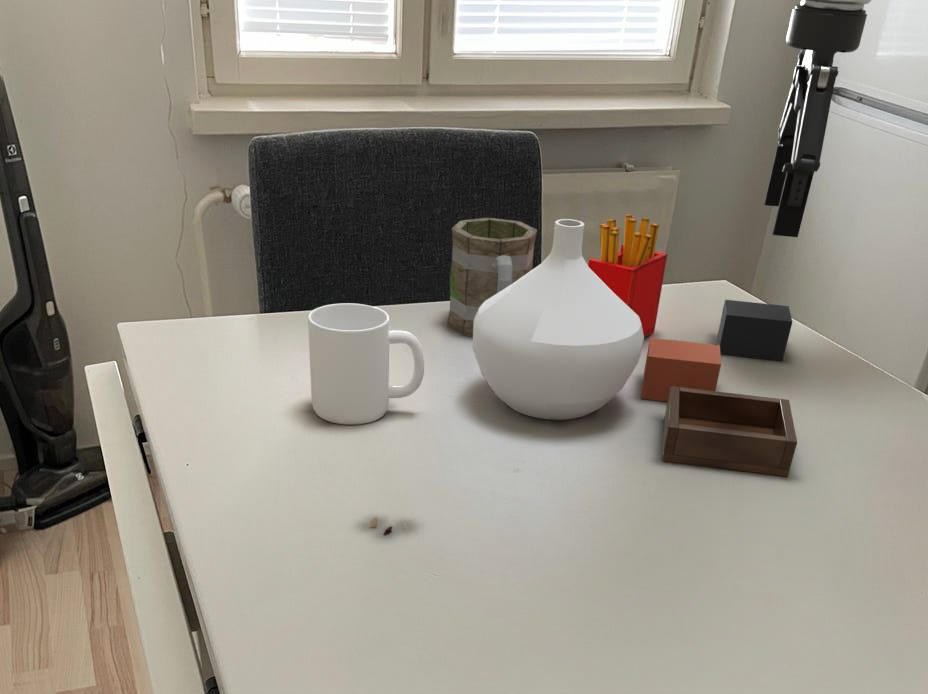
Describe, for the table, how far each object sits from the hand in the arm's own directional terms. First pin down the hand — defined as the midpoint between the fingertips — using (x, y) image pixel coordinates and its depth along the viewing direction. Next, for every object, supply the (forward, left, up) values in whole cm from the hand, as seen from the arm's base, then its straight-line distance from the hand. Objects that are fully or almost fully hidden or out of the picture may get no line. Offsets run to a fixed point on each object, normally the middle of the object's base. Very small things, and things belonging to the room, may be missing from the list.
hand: (779, 220), depth 116 cm
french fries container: (+17, -1, -16) cm, 24 cm away
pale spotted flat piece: (+34, +54, -17) cm, 66 cm away
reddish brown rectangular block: (+9, +15, -16) cm, 24 cm away
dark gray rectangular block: (0, -2, -16) cm, 16 cm away
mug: (+33, +2, -16) cm, 37 cm away
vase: (+23, +22, -16) cm, 36 cm away
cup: (+42, +30, -16) cm, 54 cm away
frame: (+4, +28, -16) cm, 33 cm away
